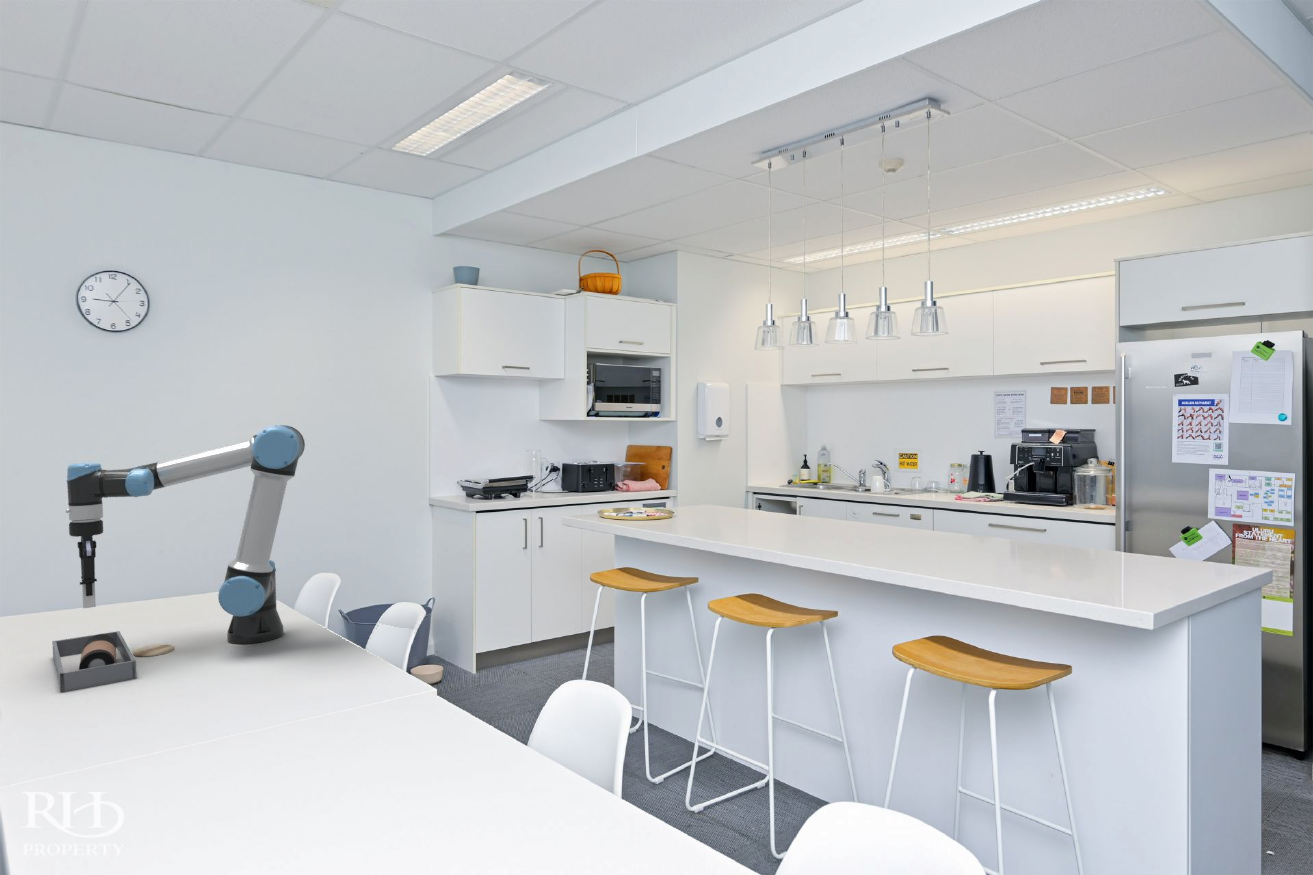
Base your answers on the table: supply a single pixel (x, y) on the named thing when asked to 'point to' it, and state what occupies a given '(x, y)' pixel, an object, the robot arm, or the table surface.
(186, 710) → the table surface
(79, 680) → the tray
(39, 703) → the table surface
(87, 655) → the travel mug
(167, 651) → the cork coaster
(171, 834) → the table surface
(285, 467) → the robot arm
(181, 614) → the table surface
